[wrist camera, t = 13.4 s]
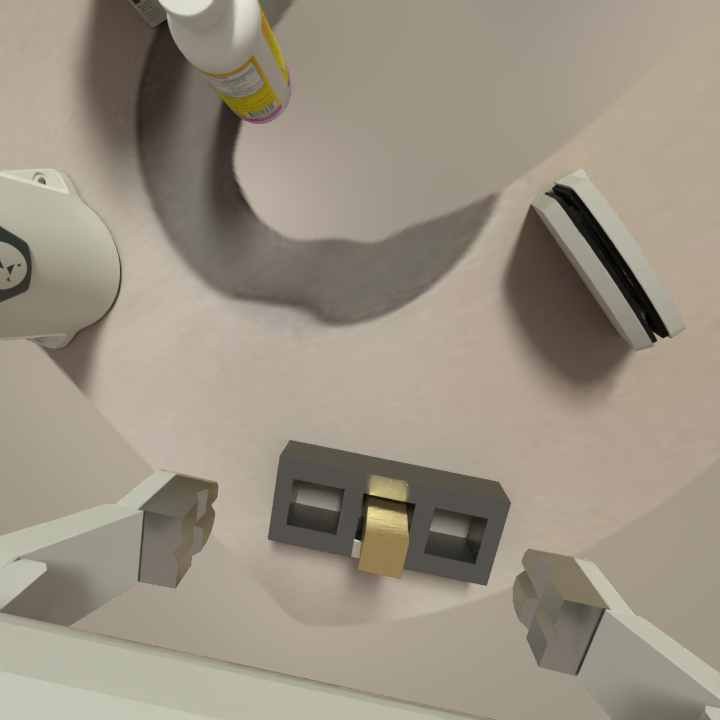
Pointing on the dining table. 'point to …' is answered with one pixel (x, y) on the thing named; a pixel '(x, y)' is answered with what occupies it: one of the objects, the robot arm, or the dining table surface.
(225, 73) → the supplement bottle
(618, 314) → the grey rounded block
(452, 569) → the grey peg holder
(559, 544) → the dining table surface
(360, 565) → the brass peg
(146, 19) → the grey food box
